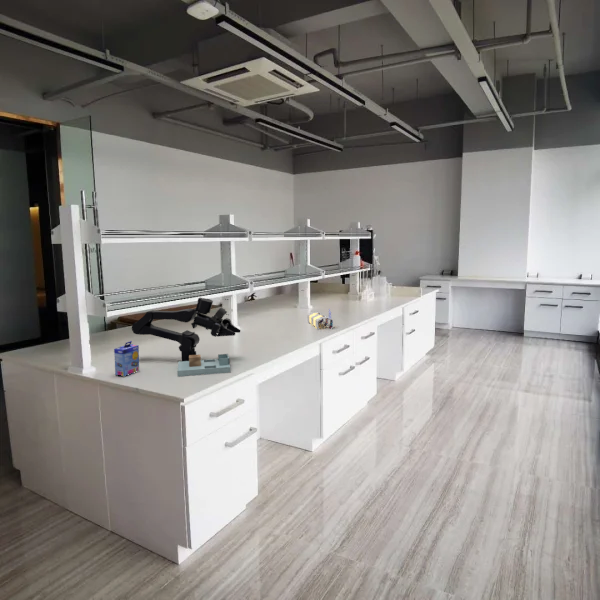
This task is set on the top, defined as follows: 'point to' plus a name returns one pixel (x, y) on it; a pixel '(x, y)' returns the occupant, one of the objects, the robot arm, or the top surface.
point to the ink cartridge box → (126, 359)
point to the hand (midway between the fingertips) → (237, 332)
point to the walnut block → (194, 360)
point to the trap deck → (205, 366)
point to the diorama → (319, 319)
